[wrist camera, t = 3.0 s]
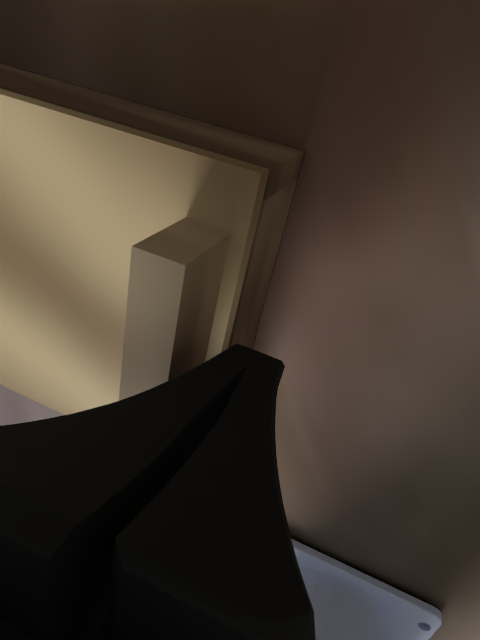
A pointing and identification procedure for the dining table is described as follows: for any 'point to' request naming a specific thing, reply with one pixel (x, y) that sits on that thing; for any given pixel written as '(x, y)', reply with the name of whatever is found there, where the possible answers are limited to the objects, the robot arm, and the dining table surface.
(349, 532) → the dining table surface
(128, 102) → the walnut box
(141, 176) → the lid
